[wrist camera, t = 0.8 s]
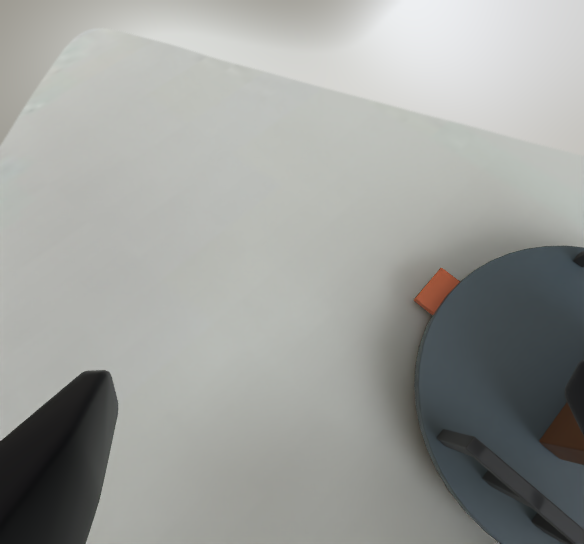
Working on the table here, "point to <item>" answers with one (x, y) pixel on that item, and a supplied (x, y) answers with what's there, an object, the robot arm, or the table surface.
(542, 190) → the table surface
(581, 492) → the drying rack
